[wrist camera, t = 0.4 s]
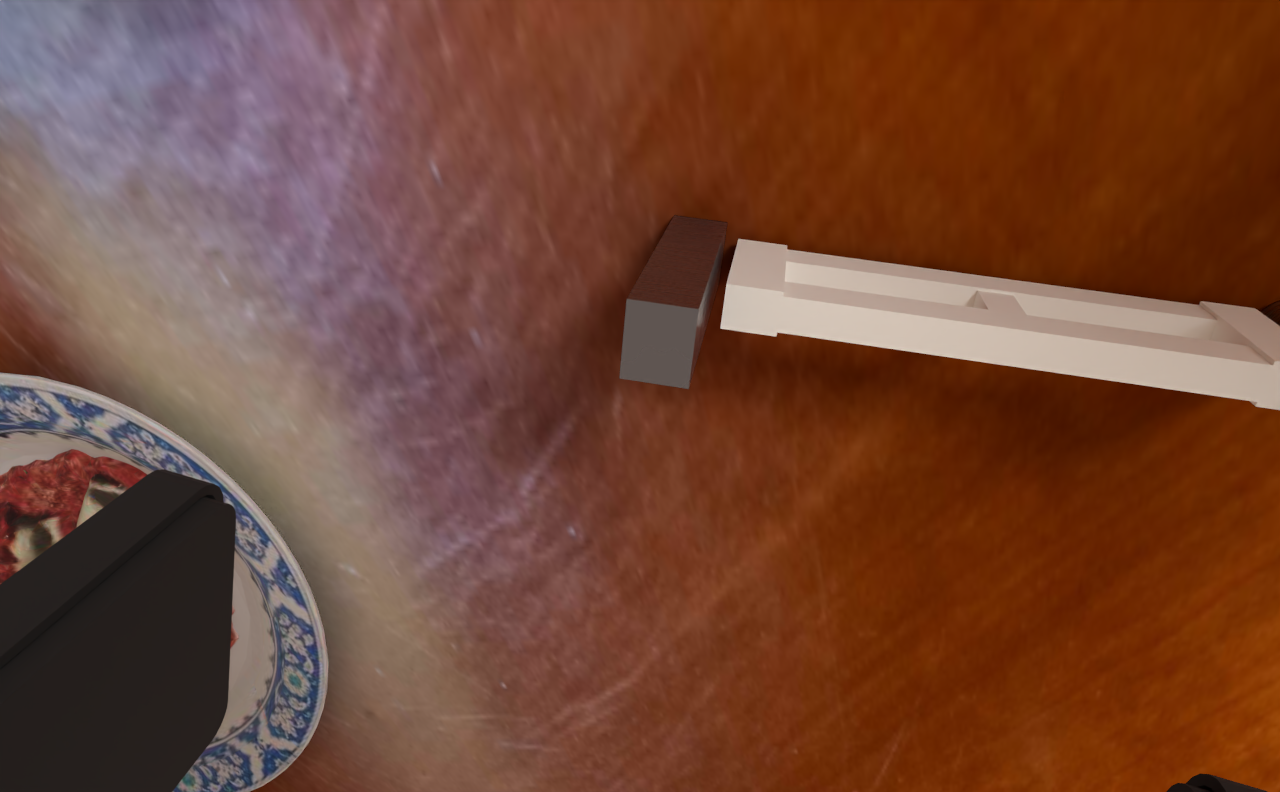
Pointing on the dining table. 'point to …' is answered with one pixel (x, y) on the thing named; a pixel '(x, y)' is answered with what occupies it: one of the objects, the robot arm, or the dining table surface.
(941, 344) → the gate
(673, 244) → the gate posts
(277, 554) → the ceramic plate
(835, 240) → the dining table surface
